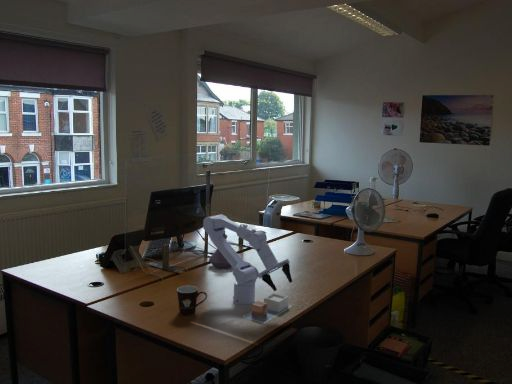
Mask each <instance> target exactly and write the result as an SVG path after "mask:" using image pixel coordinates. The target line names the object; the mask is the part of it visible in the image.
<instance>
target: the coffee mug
mask: <svg viewBox="0 0 512 384" xmlns="http://www.w3.org/2000/svg"><path fill="white" fill-rule="evenodd" d="M198 290H199V288H198V287H197V286H196V285H195V286H193V285H182V286H179V287H177V289H176V293H177V302H178V309H179V314H181V315H182V316H192V315H194V314H195V313H196V309H197V307H198V306H199V305H201V304H202V303H203V302H205V301H206V300H207V297H208V293H206V292H205V291H200V292H198ZM200 294H204V295H205V298H204V299H202V301H200V302H197V301H198V297H199V295H200Z"/></svg>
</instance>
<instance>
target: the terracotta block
mask: <svg viewBox="0 0 512 384" xmlns="http://www.w3.org/2000/svg"><path fill="white" fill-rule="evenodd" d="M251 311H252V316H254V317H257V318H260V319H261V318H263V317H264V316H266V315H267V303H264V301H260V300H256V301H255V302H254V303H251Z"/></svg>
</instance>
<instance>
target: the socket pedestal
mask: <svg viewBox="0 0 512 384" xmlns="http://www.w3.org/2000/svg"><path fill="white" fill-rule="evenodd" d="M263 302H264V303H267V309H269V310H272V311H276V312H280V311H282V310H283V309H285V308H287V307H288V305H289V296H288V295H283V294H279V293H276V292H272V293H270V294H268V295H267V296H265V297H263Z"/></svg>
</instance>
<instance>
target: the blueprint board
mask: <svg viewBox="0 0 512 384" xmlns="http://www.w3.org/2000/svg"><path fill="white" fill-rule="evenodd" d="M292 307H293V305H290V304H288V307H287V308H285V309H283V310H282V311H280V312H276V311H272V310H269V309H267V315H266V316H264V317H263V318H261V319H260V318H257V317H254V316H252V310H251V311H249V312H248V313H246V314H244V315H242V316H241V317H242V318H245V319H247V320H251V321H254V322H257V323H261V324H265V325H266V323H268V322H270V321H271V320H273V319H274V318H276V317H278V316H279V315H281V314H282V313H284V312H286V311H287V310H288V309H290V308H292Z"/></svg>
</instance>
